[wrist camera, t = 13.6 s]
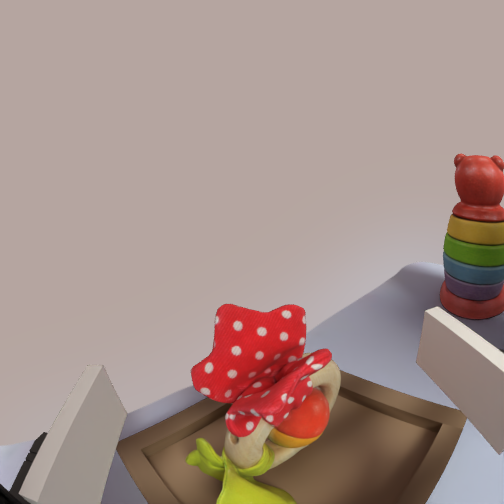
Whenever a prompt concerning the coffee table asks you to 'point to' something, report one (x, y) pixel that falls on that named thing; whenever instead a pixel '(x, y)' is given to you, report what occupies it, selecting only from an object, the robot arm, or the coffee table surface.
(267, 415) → the bird rattle
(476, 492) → the coffee table surface
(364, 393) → the walnut plate
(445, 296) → the stacking bear
